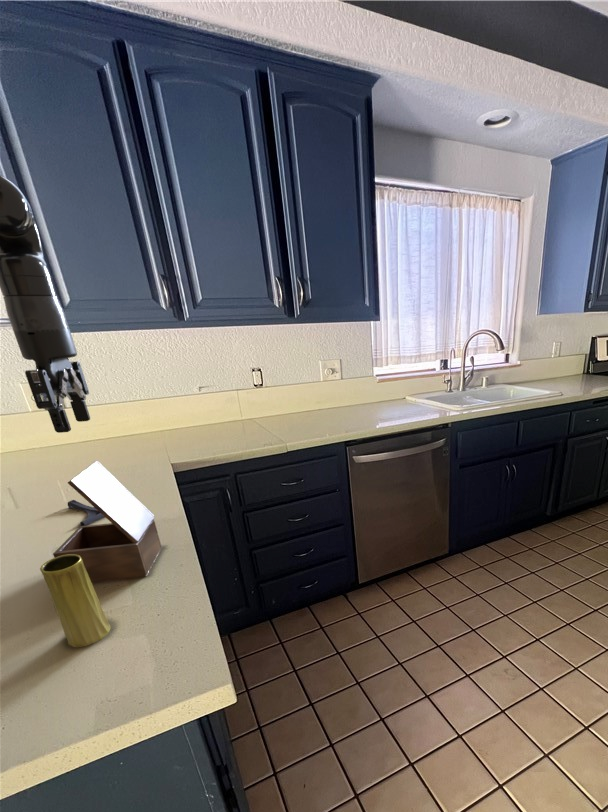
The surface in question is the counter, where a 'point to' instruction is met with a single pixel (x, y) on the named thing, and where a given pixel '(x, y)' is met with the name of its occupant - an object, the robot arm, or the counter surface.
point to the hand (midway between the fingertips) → (74, 426)
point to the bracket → (92, 512)
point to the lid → (112, 500)
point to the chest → (112, 551)
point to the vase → (75, 600)
